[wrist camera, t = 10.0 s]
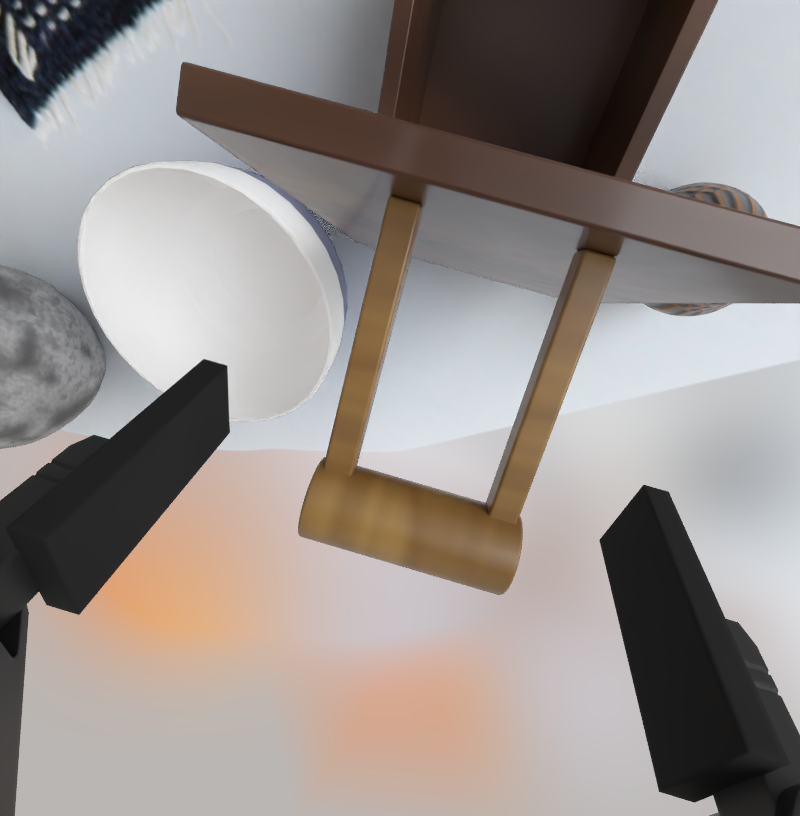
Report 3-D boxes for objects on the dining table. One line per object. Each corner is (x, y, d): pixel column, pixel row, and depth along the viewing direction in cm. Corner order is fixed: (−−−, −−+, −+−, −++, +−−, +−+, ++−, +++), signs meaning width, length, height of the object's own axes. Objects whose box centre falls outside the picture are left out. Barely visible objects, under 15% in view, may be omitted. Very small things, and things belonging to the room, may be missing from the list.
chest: (453, -121, 21) (430, -241, 14) (689, -61, 20) (791, -152, 13) (392, 202, 29) (359, 232, 22) (558, 247, 29) (578, 292, 22)
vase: (761, 207, 26) (862, 244, 19) (674, 306, 30) (730, 367, 23) (661, 154, 25) (726, 171, 18) (587, 262, 29) (616, 311, 22)
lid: (179, 58, 7) (124, 534, 9) (904, 252, 7) (664, 695, 9) (359, 225, 22) (321, 390, 24) (583, 287, 21) (524, 448, 24)
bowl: (232, 370, 40) (168, 432, 32) (135, 182, 32) (18, 205, 24) (395, 344, 35) (367, 409, 28) (331, 117, 27) (265, 119, 19)
